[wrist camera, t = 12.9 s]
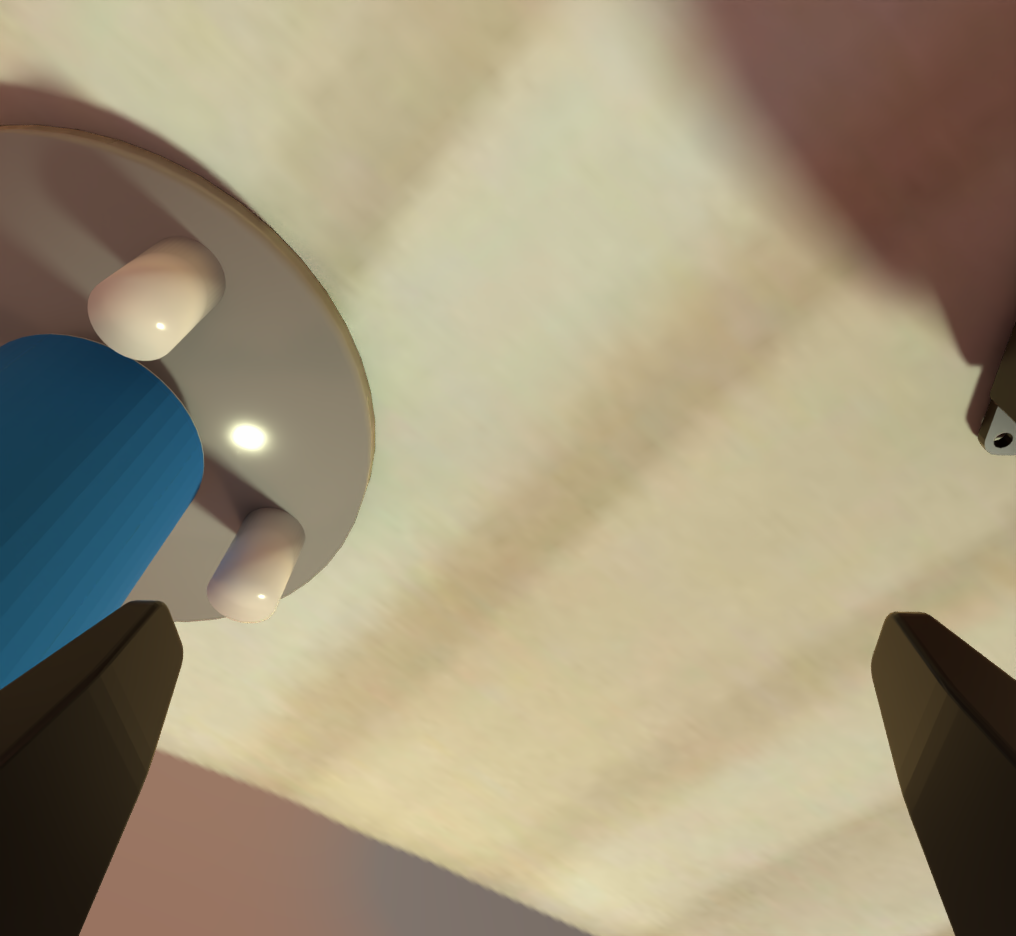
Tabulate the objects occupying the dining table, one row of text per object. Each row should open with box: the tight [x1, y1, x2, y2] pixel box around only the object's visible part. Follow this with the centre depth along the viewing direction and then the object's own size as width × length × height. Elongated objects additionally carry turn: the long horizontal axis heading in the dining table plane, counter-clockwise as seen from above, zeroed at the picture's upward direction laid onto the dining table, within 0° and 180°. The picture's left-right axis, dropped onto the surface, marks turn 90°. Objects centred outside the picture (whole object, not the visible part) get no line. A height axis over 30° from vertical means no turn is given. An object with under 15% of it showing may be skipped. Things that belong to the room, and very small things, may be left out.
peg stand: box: [0, 125, 375, 623], centre depth 22 cm, size 16×16×4 cm
